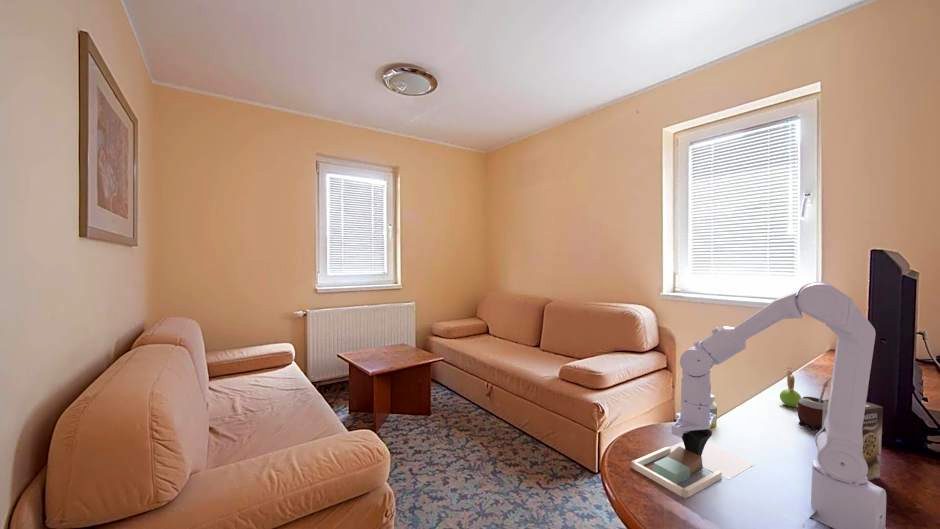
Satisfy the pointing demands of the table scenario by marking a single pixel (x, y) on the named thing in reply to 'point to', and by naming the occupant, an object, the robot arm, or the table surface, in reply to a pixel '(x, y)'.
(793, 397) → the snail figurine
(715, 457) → the beige board
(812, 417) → the mate gourd
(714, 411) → the supplement bottle
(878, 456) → the coffee box
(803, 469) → the table surface
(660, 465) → the mint green block
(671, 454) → the brown square block
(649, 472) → the box
